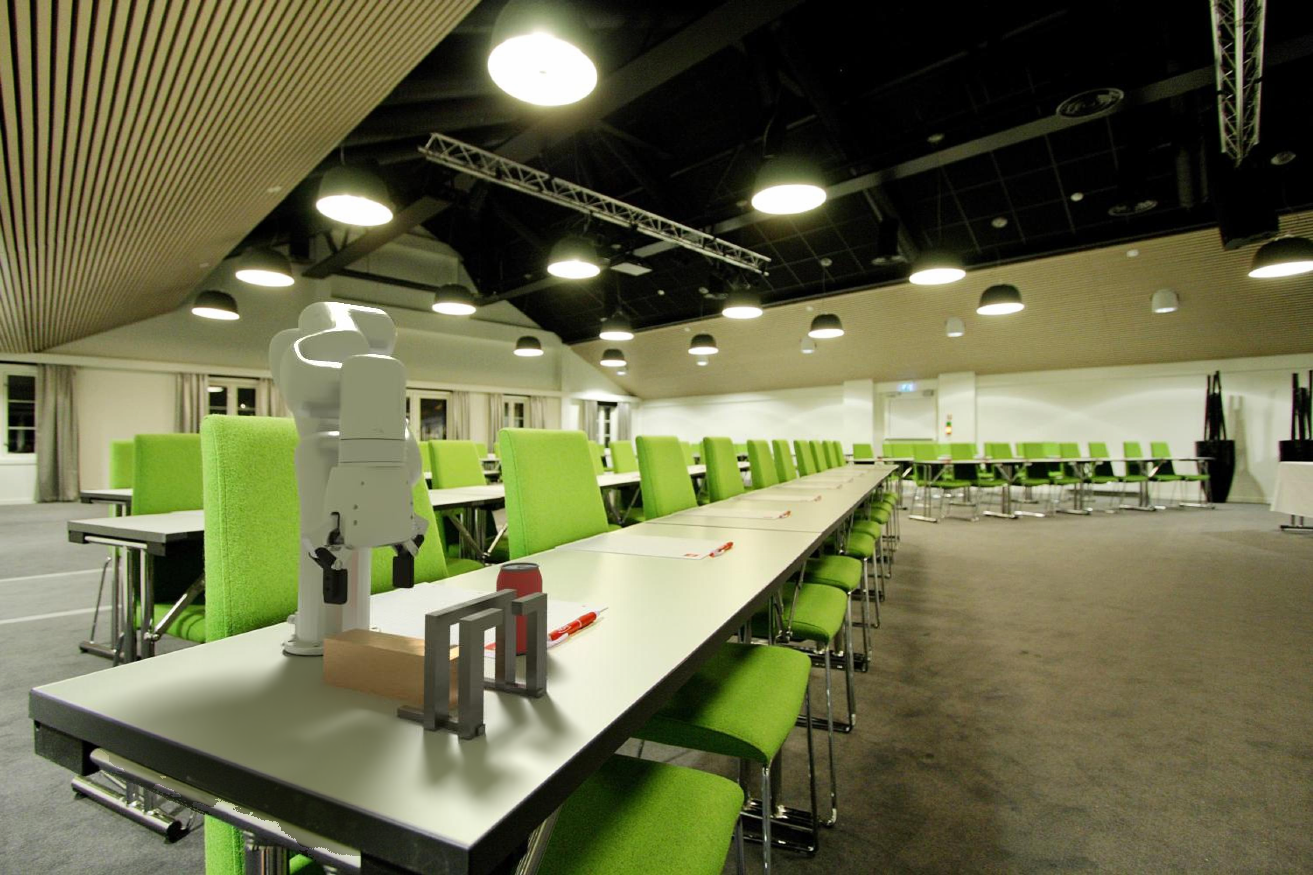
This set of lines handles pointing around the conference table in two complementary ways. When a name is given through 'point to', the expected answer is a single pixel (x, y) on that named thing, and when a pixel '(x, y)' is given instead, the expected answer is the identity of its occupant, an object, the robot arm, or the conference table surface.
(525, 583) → the beer can
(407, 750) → the conference table surface
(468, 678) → the gray arch posts
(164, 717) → the conference table surface
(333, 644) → the long brass-colored rectangular prism
